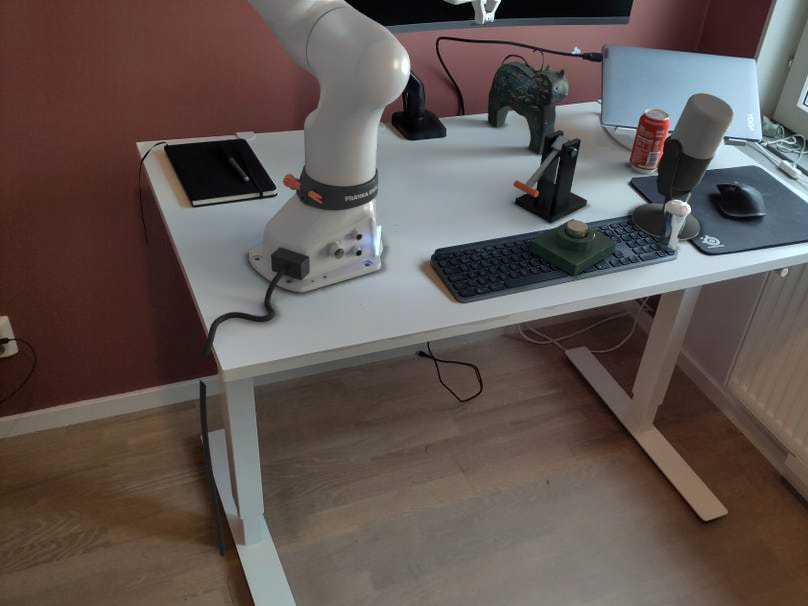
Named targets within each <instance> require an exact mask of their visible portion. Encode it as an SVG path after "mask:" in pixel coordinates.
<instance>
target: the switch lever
mask: <svg viewBox="0 0 808 606" xmlns="http://www.w3.org/2000/svg"><path fill="white" fill-rule="evenodd" d="M568 141H571V139H569V138H567V137H566V136H564V135H563V136H561V135H560V136H559V137H558V138H557V139H556V141H555V142H554V143H553V144H552V145H551V148H552V153H551V154H550V155H549V156H548V157H547V158H546V160H545V161H544V162H543V163H542V164H541V166H540V165H539V167H538V168H537V169H536V170H535V172H533V174H532V175H531V176H530V177H529V178H528V179H527V181H526V182H525V183H524V182H521V181H519V179H516V180H515V181H514V182H513V187H514V188H516V189H518V190H520V191H522V192H524V193H525V194H526V193H528V194H530V195H532V196H533V197H537V196H538V194H539V192H538V191H537V190H535V189H536V188H533V187H534V186H535V185H537V181H538V180H539V179H540V178H541V176H542V175H543V174H544V173H545V172H546V171H547V169H548V168H549V167H550V166H551V165H552V163H553V162H554V161H555V160H556V159H557V158H558V157H559V158H560V153H561V148H562V144H564V143H566V142H568Z"/></svg>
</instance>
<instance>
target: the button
mask: <svg viewBox="0 0 808 606" xmlns="http://www.w3.org/2000/svg"><path fill="white" fill-rule="evenodd" d="M571 220H572V219H571ZM568 221H569V222H568ZM568 221H567V222H568V223H567V228H566V235H568V236H570V237H571V238H576V239H584V238H585V237H586V234H587V229H588V227H589V226H588V224H587V223H586V222H584V221H582V220H576V219H574V220H572V221H570V220H568Z"/></svg>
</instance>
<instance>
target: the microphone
mask: <svg viewBox="0 0 808 606" xmlns="http://www.w3.org/2000/svg"><path fill="white" fill-rule="evenodd" d="M734 119H735V111H734V109H733V108H732V107H731V106H730V104H729V103H728V102H726V100H723V99H722V98H720V97H719V96H715V95H713V94H709V93H704V92H699V93H694V94H692V95H690V97H688V99H687V101H686V104H685V106H684V108H683V110H682V111H681V114H680V116H679V118H678V120H677V122H676V124H675V127H674V129H673V130H672V133H671V134H670V135H669V136H667V138H666V140H665V141H664V147H663V153H662V156H661V158H660V160H659V162H658V166H657V169H656V173H657V178H656V181H655V182H656V188H657V193H658V194H659V195H660V196H663V197H664V202H663V203H658V202H657V203H656V202H653V203H652V202H651V203H645V204H641V205H639V206H637V207H635V208H634V209H633V211H632V214H631V220H632V222H633V224H634V225H635V226H636V228H638V229H639V230H640V231H642V232H643V233H645V234H647V235H649V236H651V237H654V238H657V239H659V236H660V231H661V226H662V221H663V215H664V209H665V204H666V203H667V202H669V201H671V200H680V201H681V199H682V198H685V197H688V195H689V193H690V194H691V193H692V191H693V189H694V188H696V187H697V186H698V185H699V184H700V183H701V181H702V179H703V177H704V176H705V173H706V172H707V170H708V168H709V166H710V165H711V162H712V161H713V160H714V158H715V156H716V153H717V152H718V149H719V148H720V145H721V144H722V142H723V140H724V139H725V136H726V134H727V132H728V131H729V129H730V127H731V125H732V123H733V121H734ZM700 229H701V225H700V222H699V220H698V219H697V218H696V217H695V216H694V215H693V214H692V213H690V214H689V216H688V219H687V221H686V223H685V226H684V228H683V231H682V233H681V236H680V238H679V241H678V242H684V241H689V240H691V239H694V238H695V237H697V236H698V234H699V233H700Z"/></svg>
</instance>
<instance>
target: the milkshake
mask: <svg viewBox="0 0 808 606" xmlns="http://www.w3.org/2000/svg"><path fill="white" fill-rule="evenodd" d="M691 197H692V193H691V192H690V193H689V194H688V195H687V196H686V199H685V201H682V200H681V199H680V200H671V201H669V202H667V203H666V204H665V209H664V215H663V221H662V226H661V231H660V236H659V238H658V242H657V247H658V248H659V249H660V250H661V251H665V252H673V251H676V249H677V246H678V244H679V242H680V241H679V238H680V236H681V233H682V231H683V228H684V226H685V223H686V221H687V219H688V216H689V214H691V212H692V211H691V210H692V209H691V206H690V204H688V202H689V201H690V198H691Z"/></svg>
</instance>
